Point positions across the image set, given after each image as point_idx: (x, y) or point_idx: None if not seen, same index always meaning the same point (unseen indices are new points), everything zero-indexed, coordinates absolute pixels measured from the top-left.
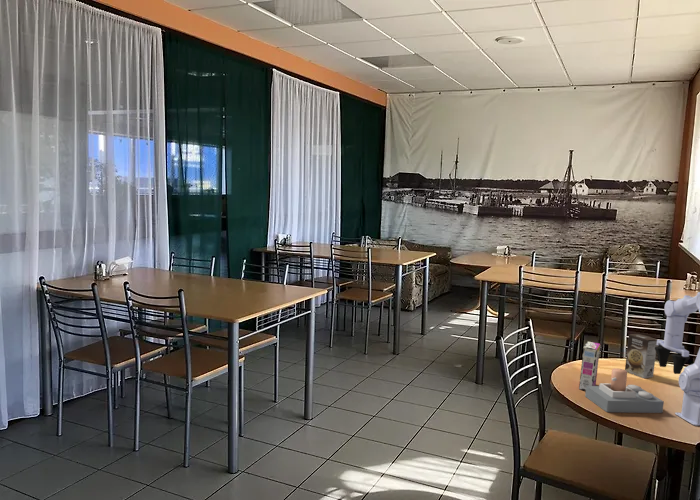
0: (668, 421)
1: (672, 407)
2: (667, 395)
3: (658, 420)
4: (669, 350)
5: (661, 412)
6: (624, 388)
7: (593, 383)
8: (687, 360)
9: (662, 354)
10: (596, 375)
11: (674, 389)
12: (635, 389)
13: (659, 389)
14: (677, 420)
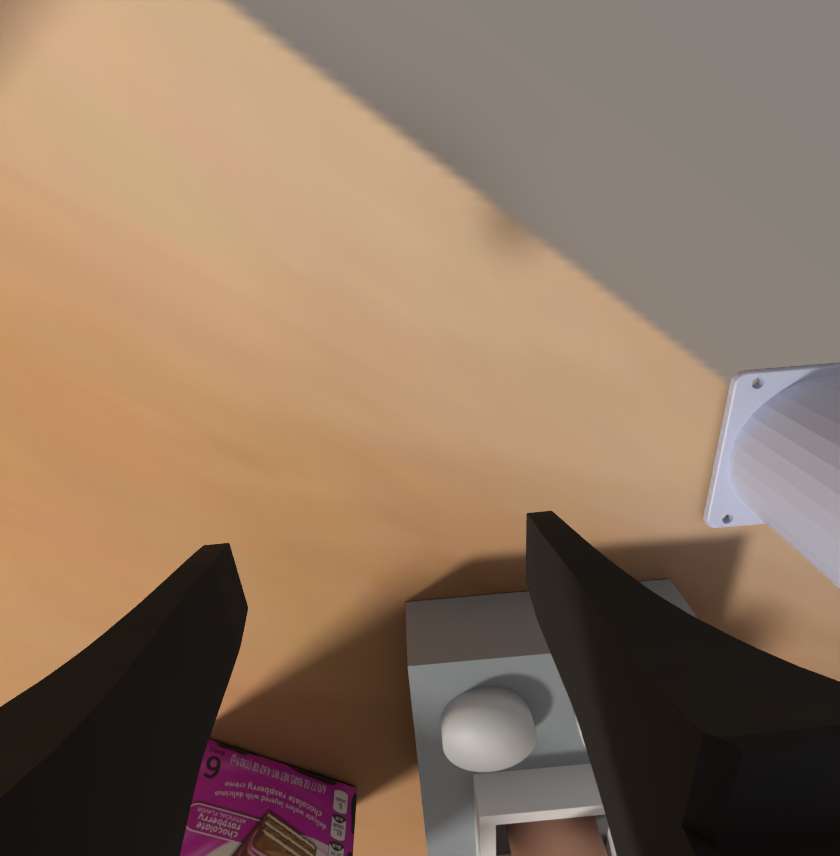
0: (786, 605)
1: (587, 467)
2: (323, 358)
3: (762, 646)
4: (37, 818)
5: (668, 584)
6: (606, 852)
7: (340, 836)
8: (786, 668)
9: (159, 804)
10: (216, 823)
11: (107, 167)
12: (531, 744)
13: (164, 343)
14: (786, 552)
